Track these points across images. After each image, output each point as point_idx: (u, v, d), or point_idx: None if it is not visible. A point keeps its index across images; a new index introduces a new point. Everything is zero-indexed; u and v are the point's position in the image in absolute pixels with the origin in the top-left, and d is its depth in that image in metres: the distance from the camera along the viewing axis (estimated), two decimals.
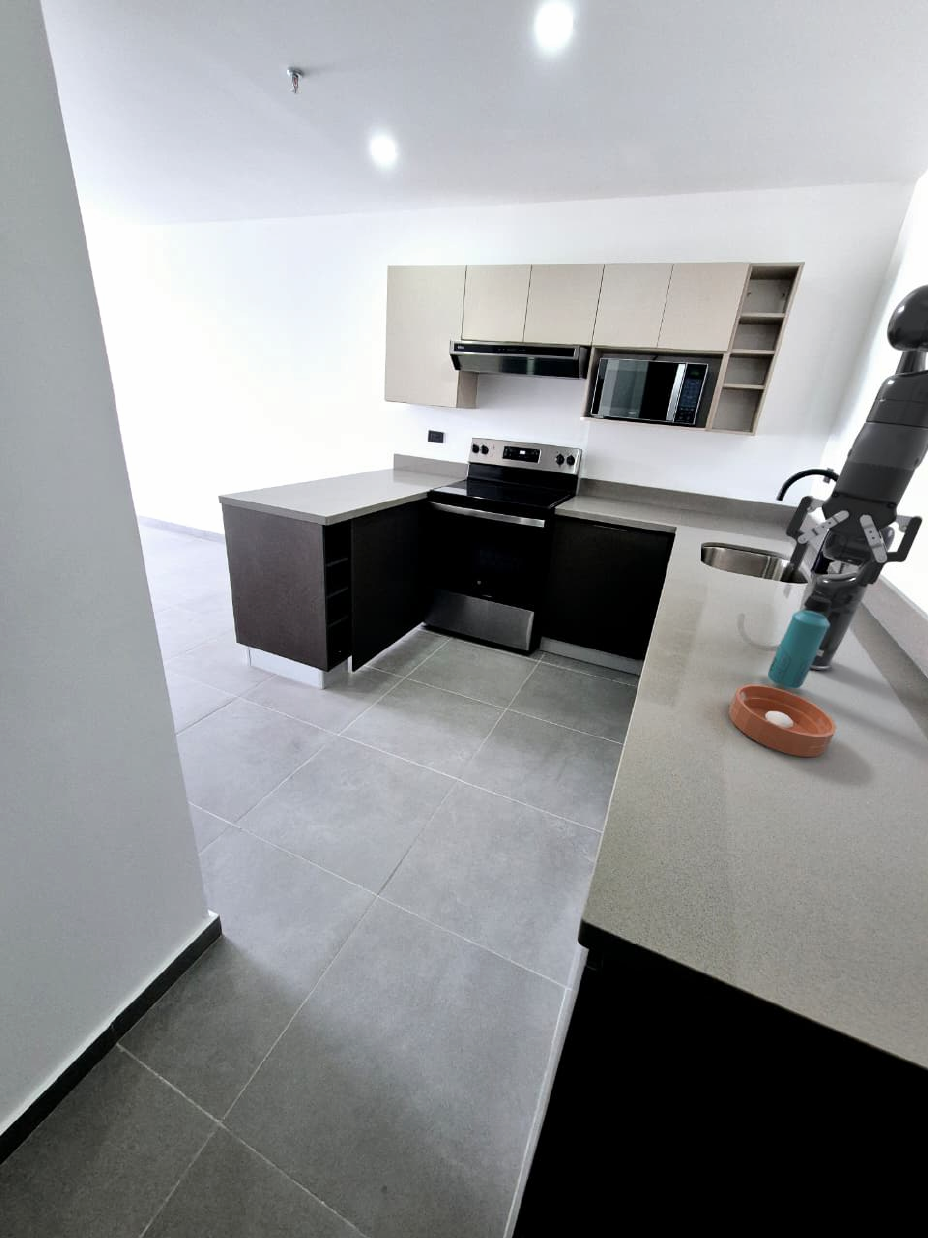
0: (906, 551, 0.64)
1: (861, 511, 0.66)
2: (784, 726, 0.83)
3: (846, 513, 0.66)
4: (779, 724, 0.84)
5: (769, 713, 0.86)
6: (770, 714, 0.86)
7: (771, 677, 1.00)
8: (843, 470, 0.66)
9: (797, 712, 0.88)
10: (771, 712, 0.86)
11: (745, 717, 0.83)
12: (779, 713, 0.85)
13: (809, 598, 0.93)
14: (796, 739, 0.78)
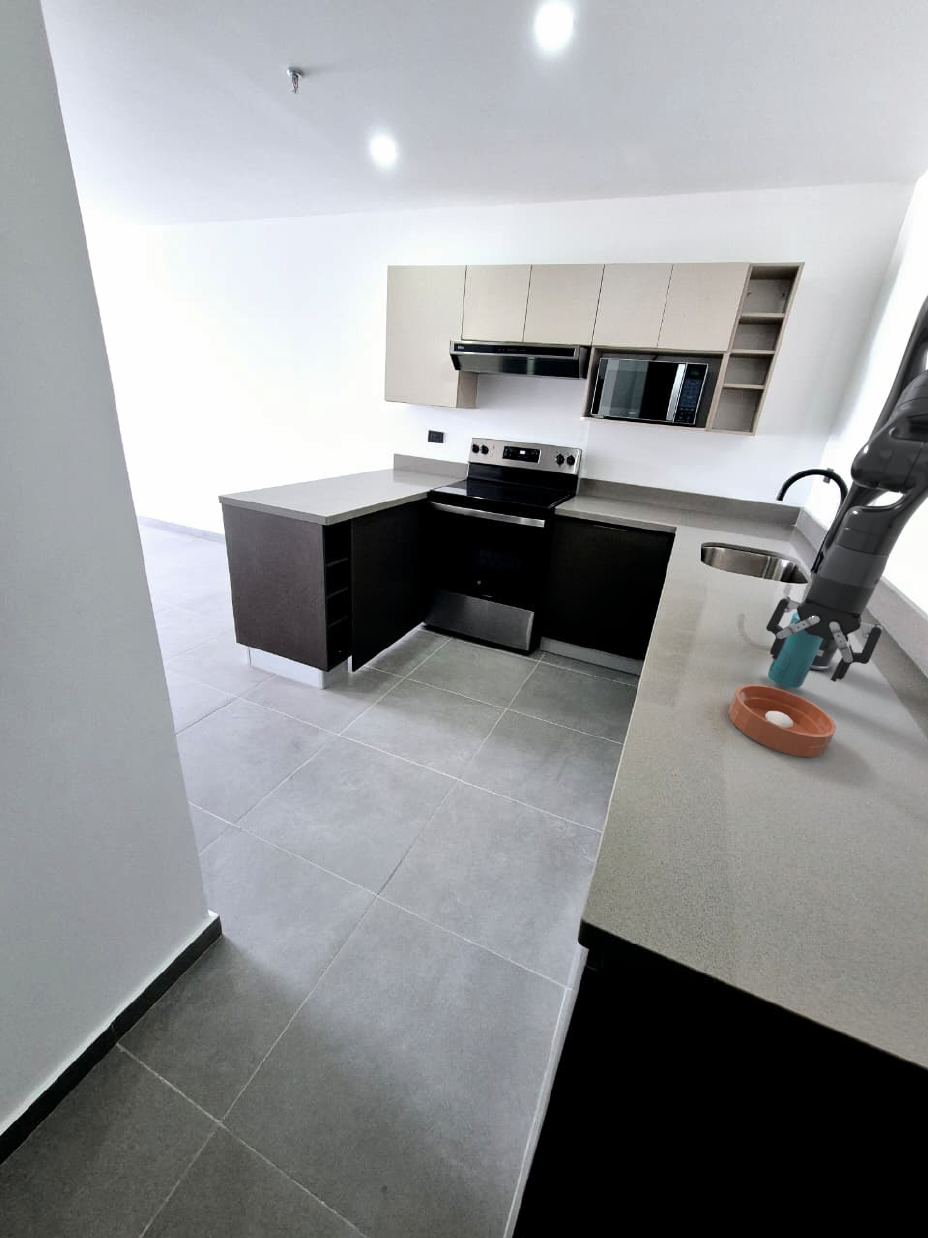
0: (868, 655, 0.73)
1: (830, 617, 0.76)
2: (784, 726, 0.83)
3: (817, 618, 0.76)
4: (779, 724, 0.84)
5: (769, 713, 0.86)
6: (770, 714, 0.86)
7: (771, 677, 1.00)
8: (815, 581, 0.76)
9: (797, 712, 0.88)
10: (771, 712, 0.86)
11: (745, 717, 0.83)
12: (779, 713, 0.85)
13: None
14: (796, 739, 0.78)
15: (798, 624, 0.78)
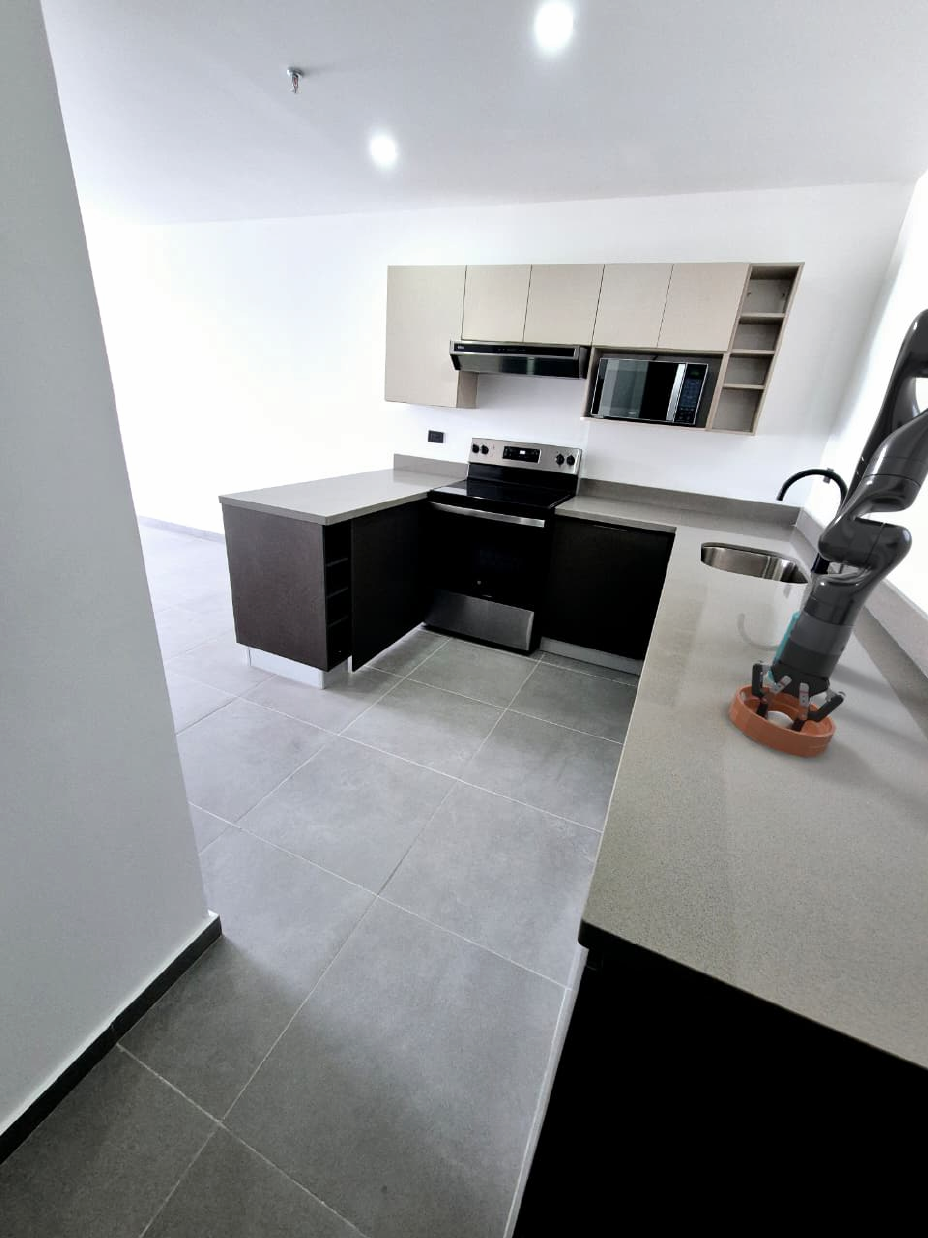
0: (822, 717, 0.79)
1: (801, 678, 0.80)
2: (784, 726, 0.83)
3: (789, 679, 0.81)
4: (779, 724, 0.84)
5: (769, 713, 0.86)
6: (770, 714, 0.86)
7: (771, 677, 1.00)
8: (786, 644, 0.80)
9: (797, 712, 0.88)
10: (771, 712, 0.86)
11: (745, 717, 0.83)
12: (779, 713, 0.85)
13: None
14: (796, 739, 0.78)
15: (775, 687, 0.83)
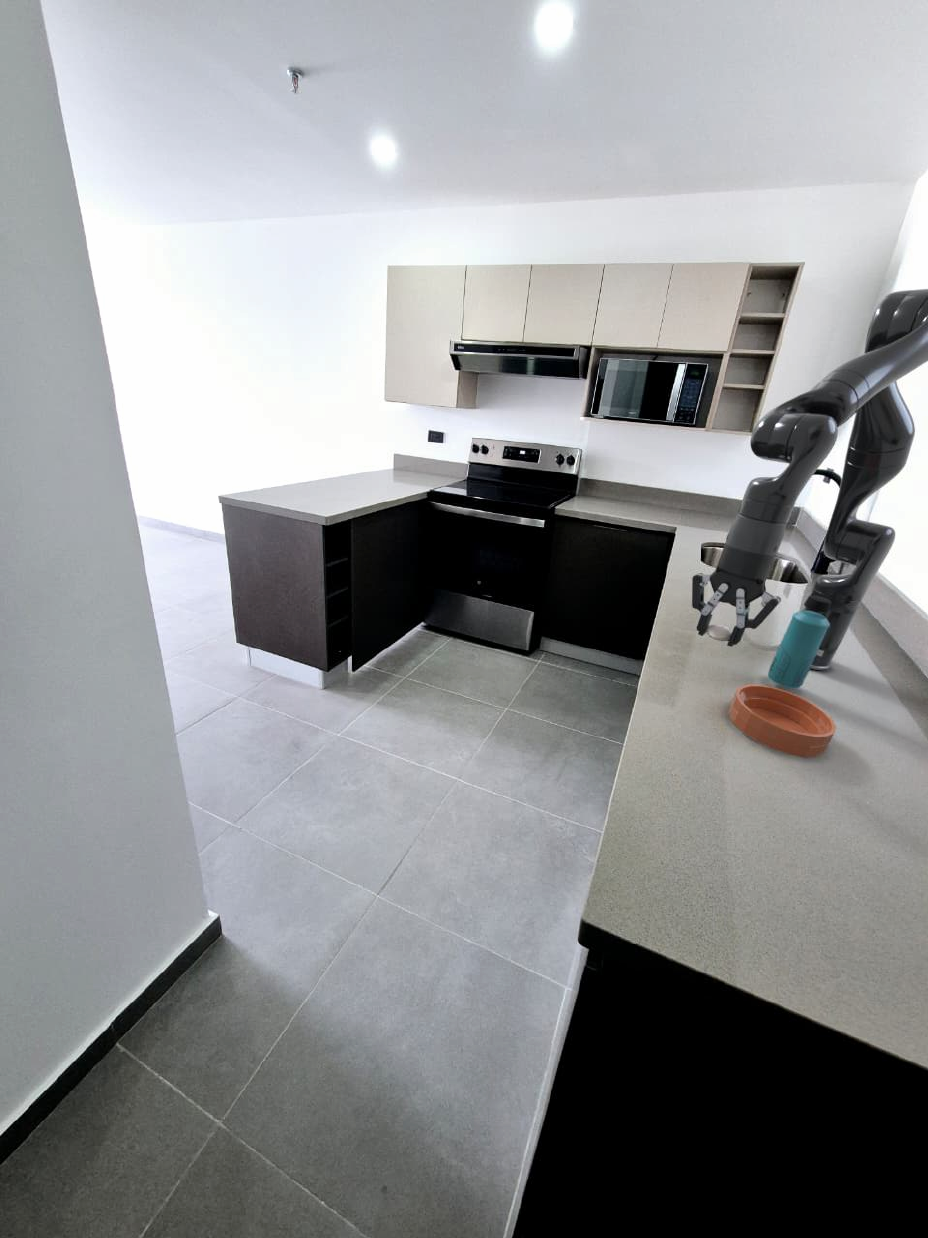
0: (758, 622, 0.79)
1: (738, 584, 0.80)
2: (723, 636, 0.83)
3: (726, 586, 0.80)
4: (718, 634, 0.83)
5: (710, 626, 0.85)
6: (710, 627, 0.85)
7: (771, 677, 1.00)
8: (723, 550, 0.80)
9: (797, 712, 0.88)
10: (712, 625, 0.85)
11: (745, 717, 0.83)
12: (719, 625, 0.85)
13: (809, 598, 0.93)
14: (796, 739, 0.78)
15: (713, 596, 0.82)
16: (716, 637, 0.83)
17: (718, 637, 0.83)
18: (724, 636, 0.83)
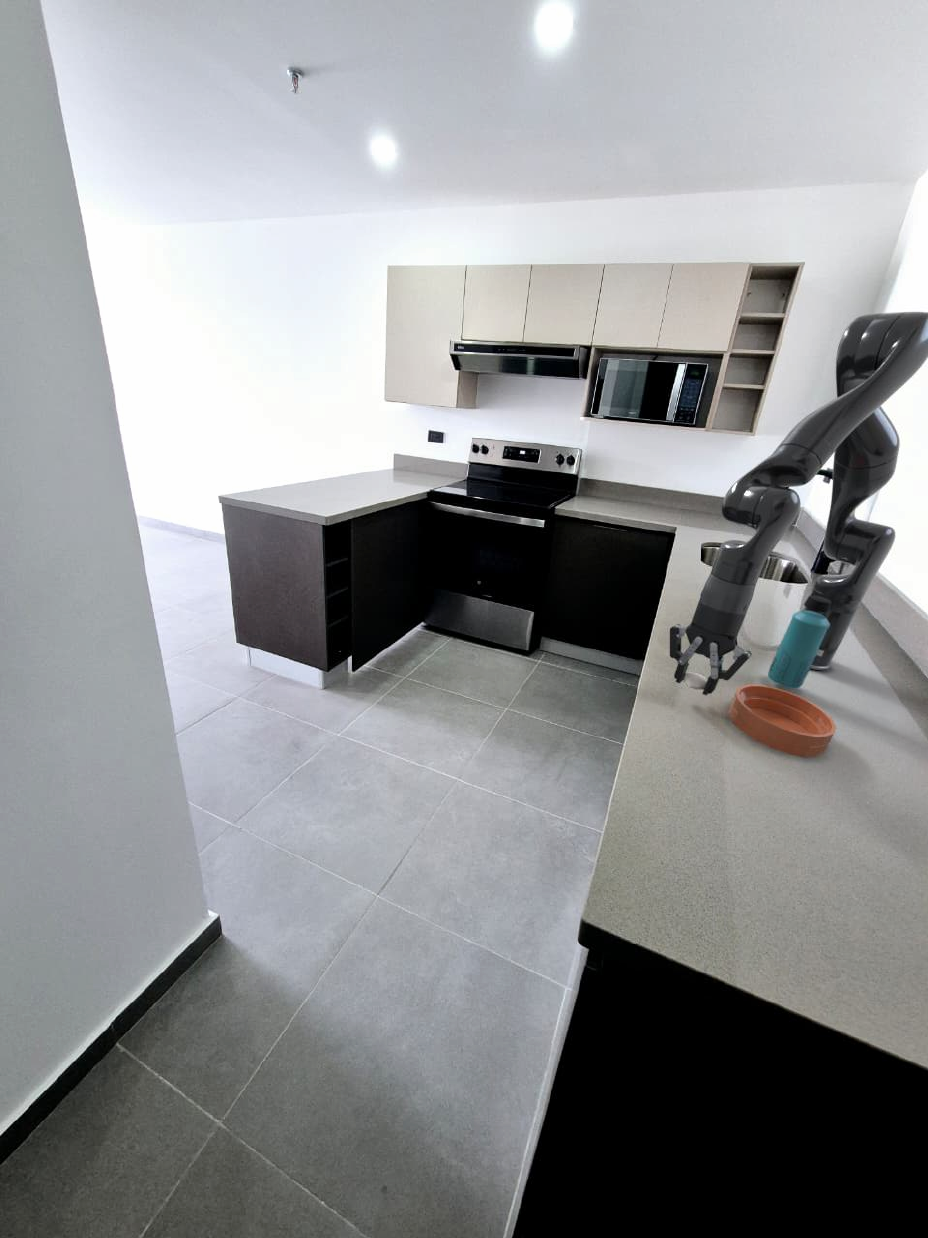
0: (731, 674, 0.83)
1: (711, 638, 0.84)
2: (698, 686, 0.87)
3: (700, 639, 0.85)
4: (694, 684, 0.88)
5: (686, 675, 0.90)
6: (687, 675, 0.90)
7: (771, 677, 1.00)
8: (697, 606, 0.84)
9: (797, 712, 0.88)
10: (688, 673, 0.90)
11: (745, 717, 0.83)
12: (696, 674, 0.89)
13: (809, 598, 0.93)
14: (796, 739, 0.78)
15: (689, 648, 0.87)
16: (692, 686, 0.87)
17: (693, 686, 0.87)
18: (699, 685, 0.88)
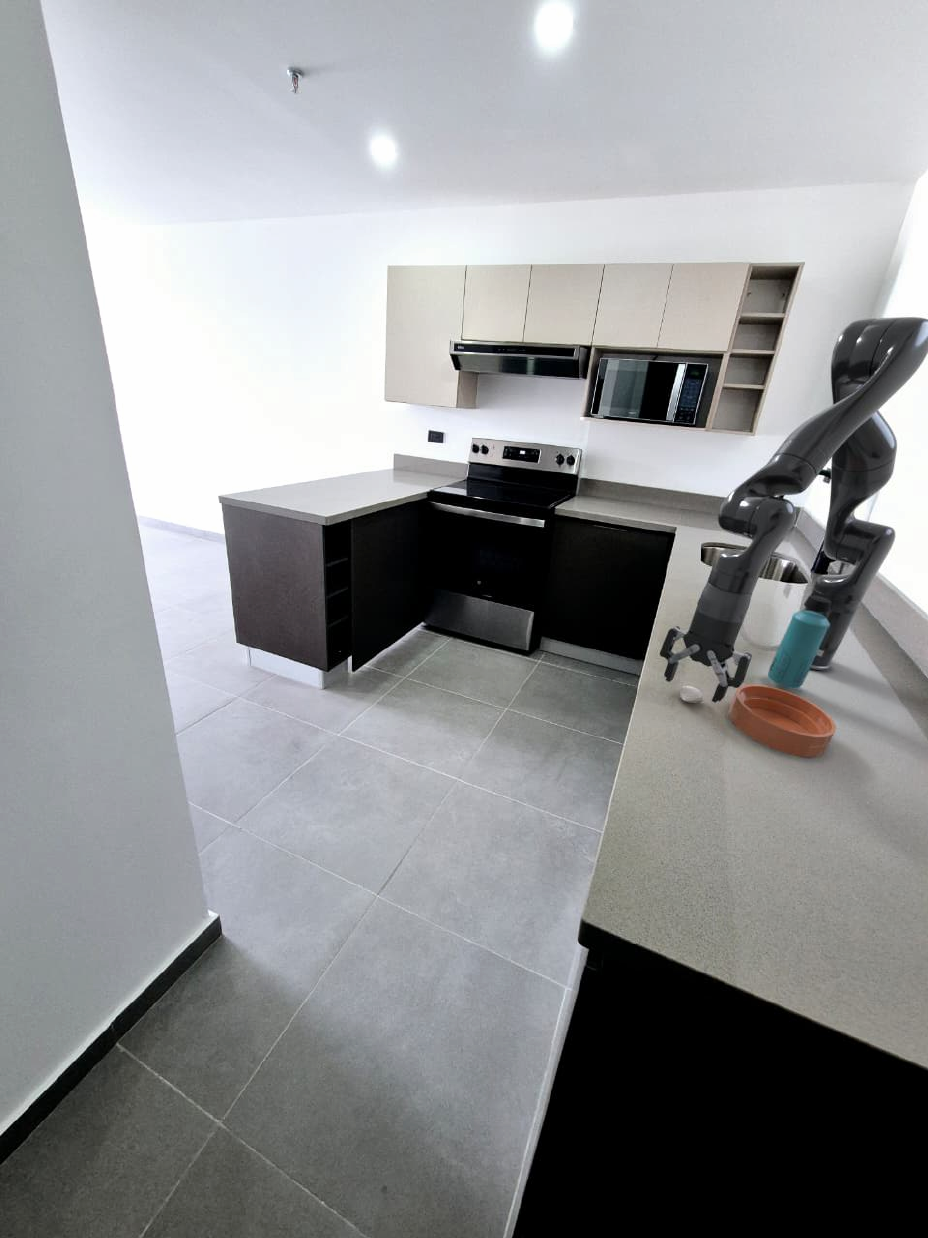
0: (739, 680, 0.83)
1: (708, 646, 0.85)
2: (693, 699, 0.89)
3: (698, 647, 0.85)
4: (689, 697, 0.89)
5: (682, 688, 0.91)
6: (682, 689, 0.91)
7: (771, 677, 1.00)
8: (694, 614, 0.85)
9: (797, 712, 0.88)
10: (684, 687, 0.91)
11: (745, 717, 0.83)
12: (691, 688, 0.91)
13: (809, 598, 0.93)
14: (796, 739, 0.78)
15: (683, 651, 0.88)
16: (687, 700, 0.89)
17: (688, 700, 0.89)
18: (694, 699, 0.89)
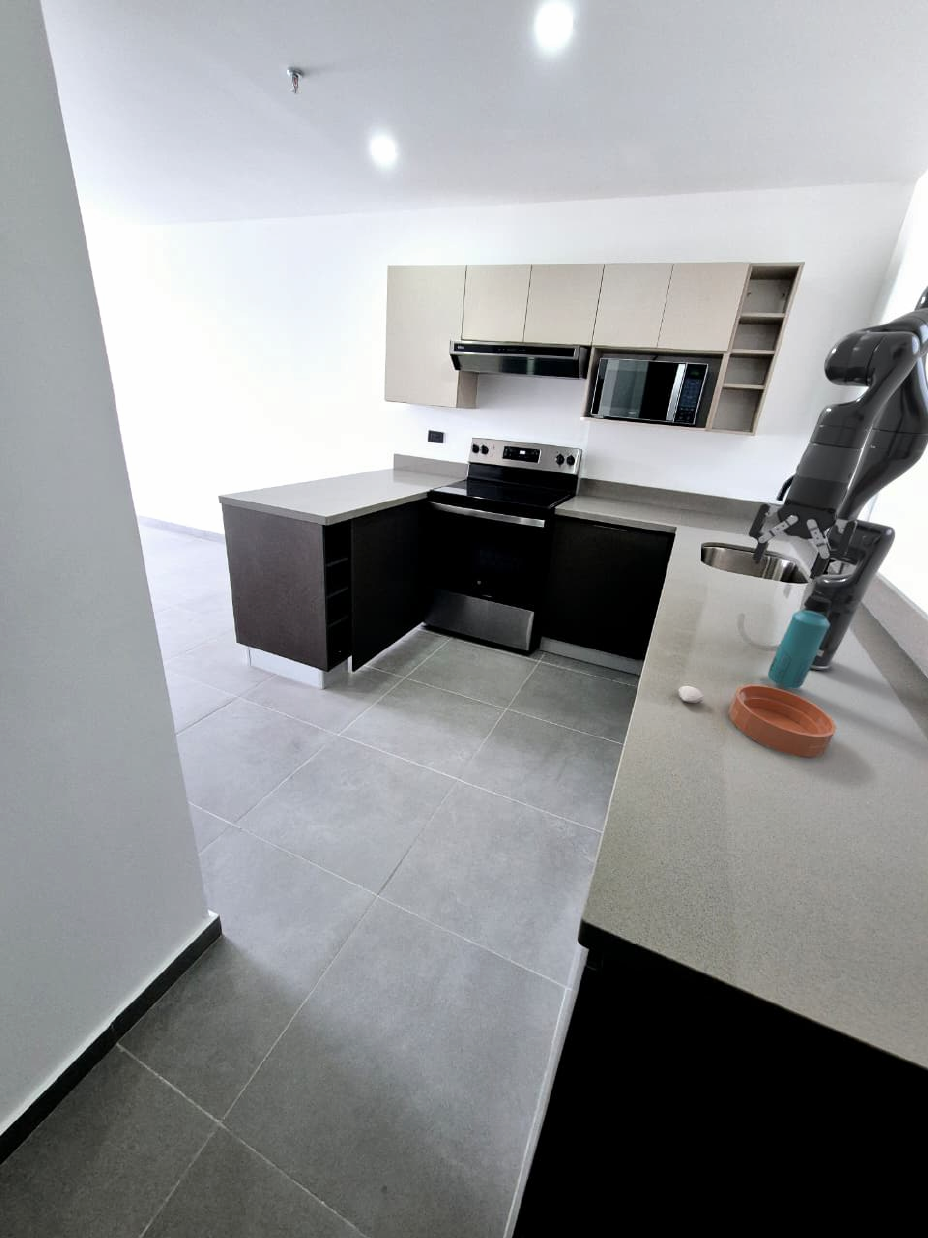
0: (844, 549, 0.77)
1: (808, 516, 0.79)
2: (693, 699, 0.89)
3: (796, 518, 0.80)
4: (689, 697, 0.89)
5: (682, 688, 0.91)
6: (682, 689, 0.91)
7: (771, 677, 1.00)
8: (792, 482, 0.79)
9: (797, 712, 0.88)
10: (684, 687, 0.91)
11: (745, 717, 0.83)
12: (691, 688, 0.91)
13: (809, 598, 0.93)
14: (796, 739, 0.78)
15: (778, 526, 0.82)
16: (687, 700, 0.89)
17: (688, 700, 0.89)
18: (694, 699, 0.89)
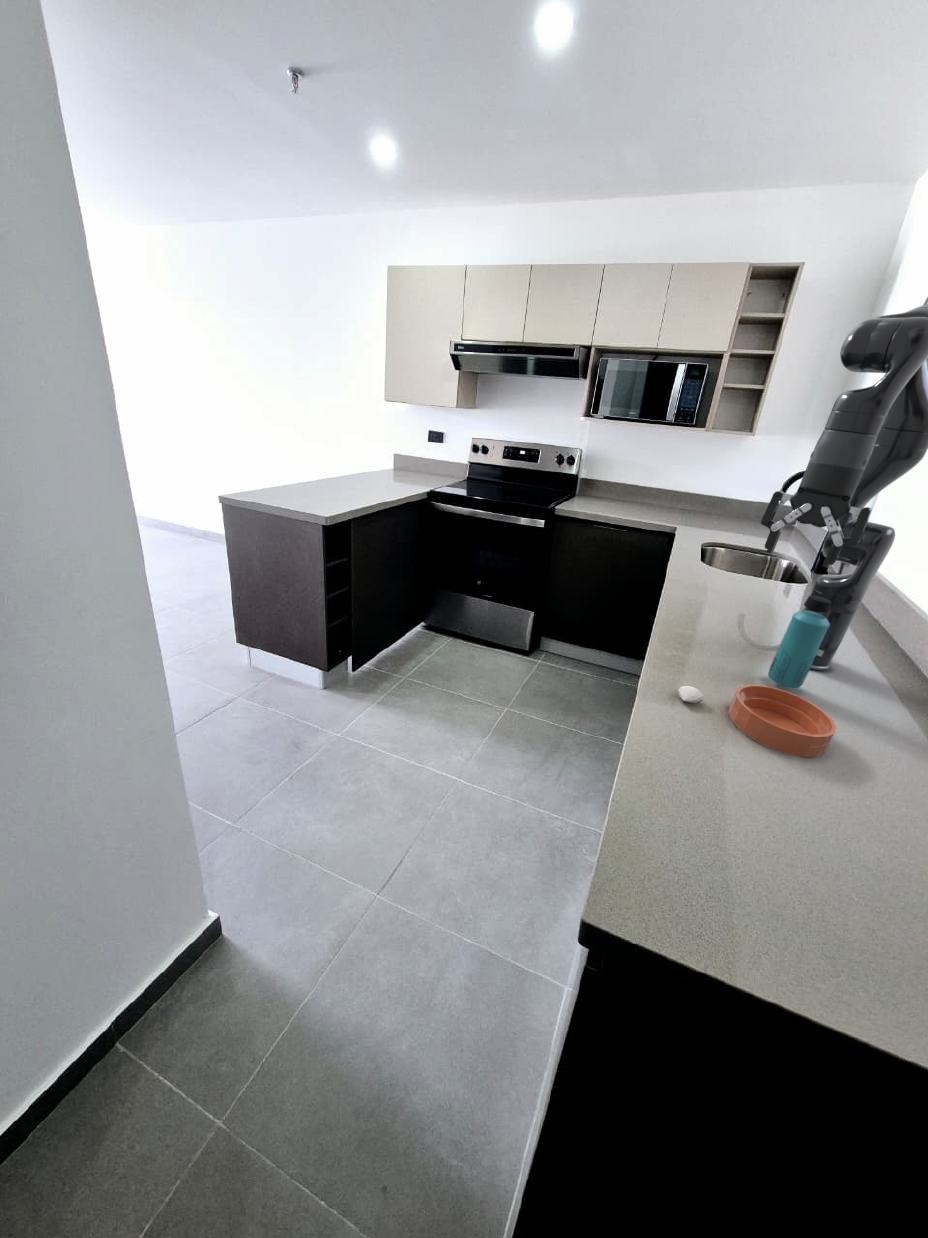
0: (858, 536, 0.77)
1: (822, 503, 0.79)
2: (693, 699, 0.89)
3: (809, 505, 0.80)
4: (689, 697, 0.89)
5: (682, 688, 0.91)
6: (682, 689, 0.91)
7: (771, 677, 1.00)
8: (807, 469, 0.79)
9: (797, 712, 0.88)
10: (684, 687, 0.91)
11: (745, 717, 0.83)
12: (691, 688, 0.91)
13: (809, 598, 0.93)
14: (796, 739, 0.78)
15: (791, 514, 0.82)
16: (687, 700, 0.89)
17: (688, 700, 0.89)
18: (694, 699, 0.89)
